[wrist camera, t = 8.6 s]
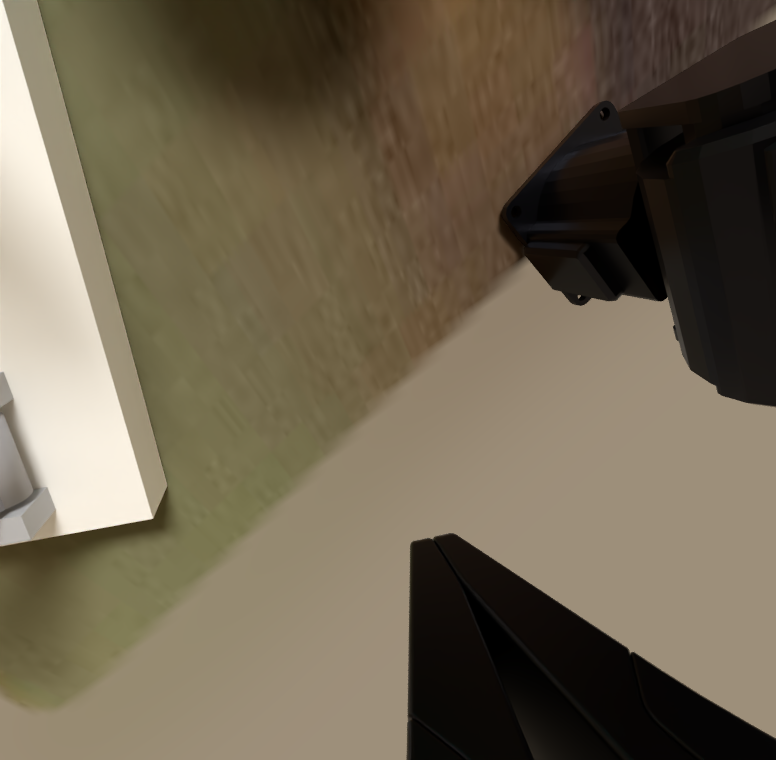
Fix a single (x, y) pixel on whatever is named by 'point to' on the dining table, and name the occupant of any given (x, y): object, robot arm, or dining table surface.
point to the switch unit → (61, 317)
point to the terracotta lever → (11, 470)
